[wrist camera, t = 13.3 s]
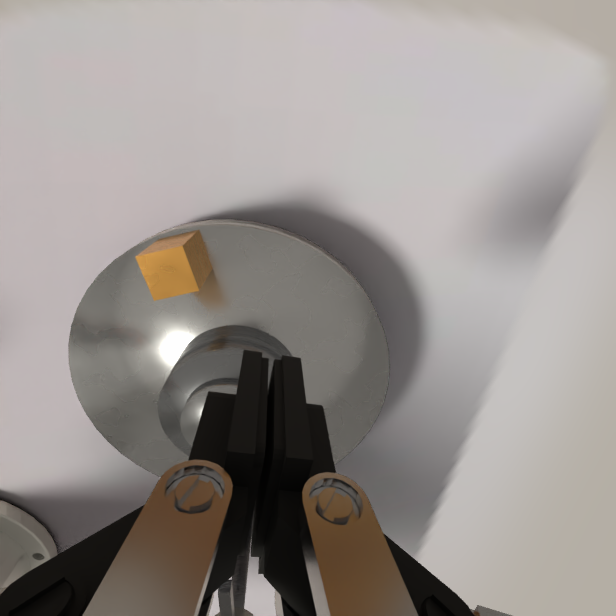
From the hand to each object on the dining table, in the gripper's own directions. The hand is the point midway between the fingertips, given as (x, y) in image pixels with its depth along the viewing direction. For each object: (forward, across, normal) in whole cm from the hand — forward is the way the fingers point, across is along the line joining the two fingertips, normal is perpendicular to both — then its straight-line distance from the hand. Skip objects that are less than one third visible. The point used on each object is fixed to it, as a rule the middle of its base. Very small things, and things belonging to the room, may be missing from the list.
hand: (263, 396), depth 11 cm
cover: (+9, +1, +6) cm, 11 cm away
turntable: (+11, +1, +6) cm, 12 cm away
